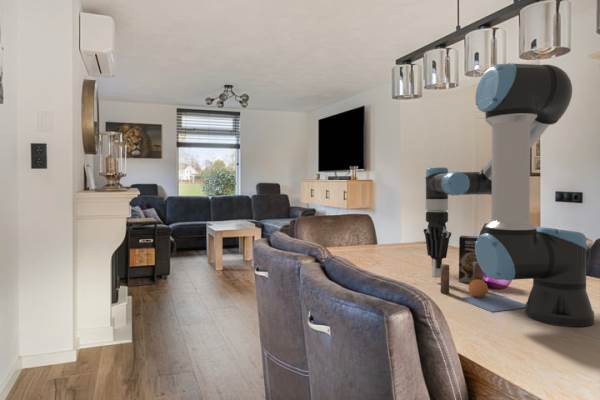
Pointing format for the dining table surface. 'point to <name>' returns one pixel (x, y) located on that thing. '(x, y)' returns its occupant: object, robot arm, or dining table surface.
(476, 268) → the post right
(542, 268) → the robot arm
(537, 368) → the dining table surface
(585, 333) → the dining table surface
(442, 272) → the post left
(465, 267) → the coffee box
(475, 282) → the ball
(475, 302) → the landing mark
